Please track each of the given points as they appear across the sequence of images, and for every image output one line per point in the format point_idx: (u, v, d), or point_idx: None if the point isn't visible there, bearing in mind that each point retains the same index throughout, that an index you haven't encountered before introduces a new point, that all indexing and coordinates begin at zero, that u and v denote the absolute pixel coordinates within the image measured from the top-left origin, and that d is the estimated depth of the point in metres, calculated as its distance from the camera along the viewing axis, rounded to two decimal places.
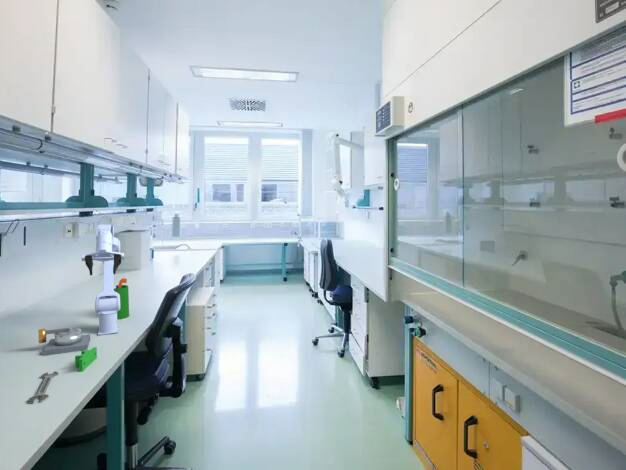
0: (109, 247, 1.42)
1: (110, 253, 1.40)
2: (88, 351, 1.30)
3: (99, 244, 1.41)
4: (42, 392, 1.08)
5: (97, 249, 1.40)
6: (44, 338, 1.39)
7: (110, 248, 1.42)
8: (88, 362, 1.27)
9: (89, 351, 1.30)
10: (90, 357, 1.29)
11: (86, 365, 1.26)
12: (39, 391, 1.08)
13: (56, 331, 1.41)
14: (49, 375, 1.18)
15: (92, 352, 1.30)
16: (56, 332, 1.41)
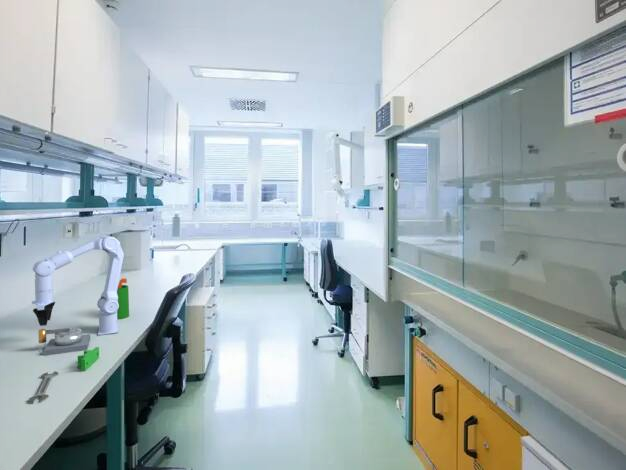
0: (37, 296, 1.41)
1: (37, 304, 1.41)
2: (91, 351, 1.30)
3: None
4: (42, 392, 1.08)
5: None
6: (44, 338, 1.39)
7: (38, 297, 1.41)
8: (90, 362, 1.27)
9: (91, 351, 1.30)
10: (92, 357, 1.29)
11: (89, 365, 1.26)
12: (39, 391, 1.08)
13: (56, 331, 1.41)
14: (49, 375, 1.18)
15: (94, 352, 1.31)
16: (56, 332, 1.41)
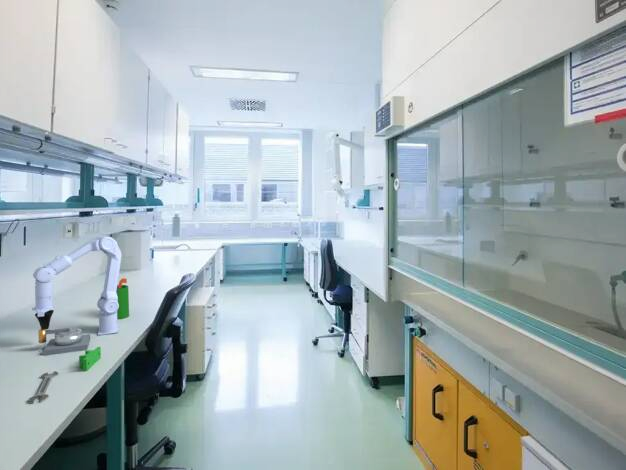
0: (37, 303, 1.41)
1: None
2: (92, 351, 1.30)
3: None
4: (42, 392, 1.08)
5: None
6: (44, 338, 1.39)
7: (38, 303, 1.41)
8: (92, 362, 1.28)
9: (93, 351, 1.30)
10: (94, 357, 1.29)
11: (90, 365, 1.26)
12: (39, 391, 1.08)
13: (56, 331, 1.41)
14: (49, 375, 1.18)
15: (96, 352, 1.31)
16: (56, 332, 1.41)
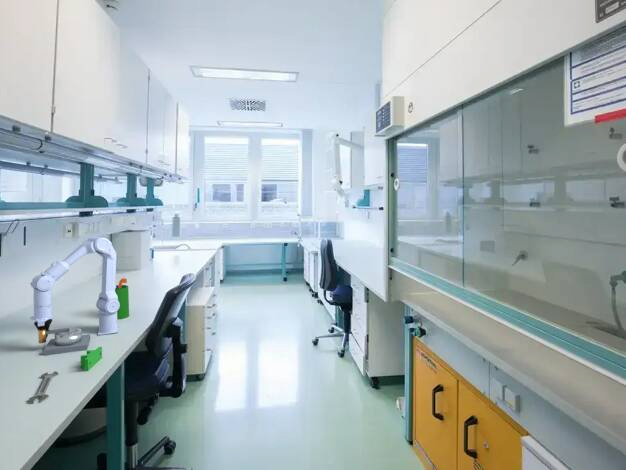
0: (36, 312, 1.38)
1: None
2: (94, 351, 1.30)
3: None
4: (42, 392, 1.08)
5: None
6: (44, 338, 1.39)
7: (37, 312, 1.38)
8: (93, 362, 1.28)
9: (94, 351, 1.30)
10: (95, 357, 1.29)
11: (92, 365, 1.26)
12: (39, 391, 1.08)
13: (56, 331, 1.41)
14: (49, 375, 1.18)
15: (97, 352, 1.31)
16: (56, 332, 1.41)
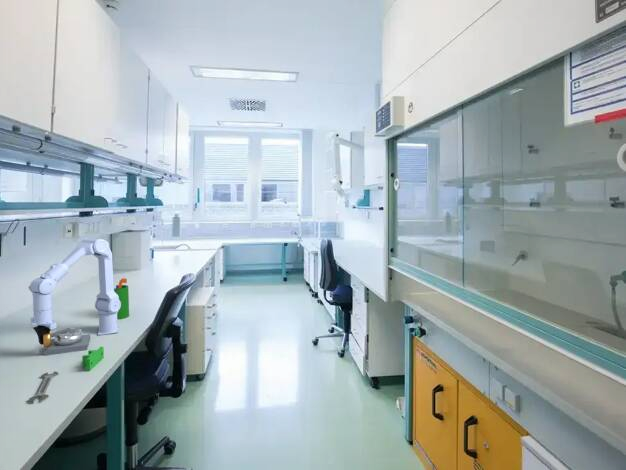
0: (39, 316, 1.33)
1: (41, 324, 1.33)
2: (95, 351, 1.30)
3: (33, 312, 1.34)
4: (42, 392, 1.08)
5: None
6: None
7: (41, 317, 1.33)
8: (95, 362, 1.28)
9: (96, 351, 1.30)
10: (97, 357, 1.29)
11: (93, 365, 1.26)
12: (39, 391, 1.08)
13: (60, 332, 1.40)
14: (49, 375, 1.18)
15: (99, 352, 1.31)
16: (60, 334, 1.40)
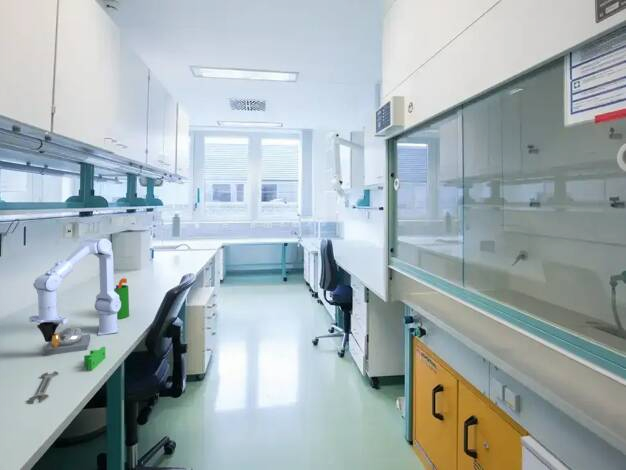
0: (48, 313, 1.32)
1: (50, 321, 1.33)
2: (97, 351, 1.30)
3: None
4: (42, 392, 1.08)
5: None
6: None
7: (50, 313, 1.33)
8: (97, 362, 1.28)
9: (98, 351, 1.30)
10: (99, 357, 1.29)
11: (95, 365, 1.26)
12: (39, 391, 1.08)
13: (64, 332, 1.40)
14: (49, 375, 1.18)
15: (101, 352, 1.31)
16: (64, 334, 1.40)
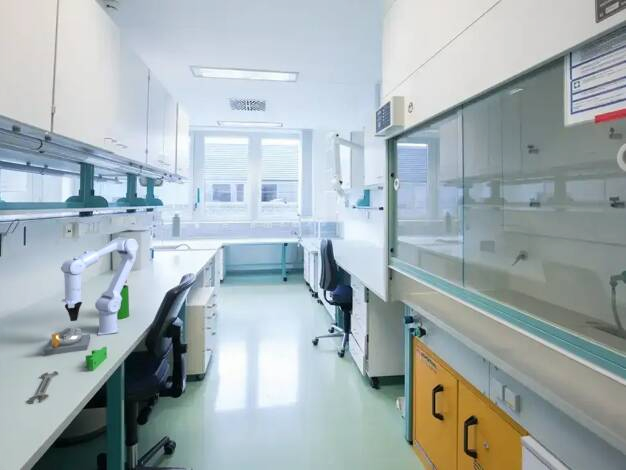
0: (66, 295, 1.44)
1: None
2: (99, 351, 1.30)
3: None
4: (42, 392, 1.08)
5: None
6: None
7: (68, 295, 1.44)
8: (98, 362, 1.28)
9: (99, 351, 1.30)
10: (100, 357, 1.29)
11: (97, 365, 1.27)
12: (39, 391, 1.08)
13: (64, 332, 1.40)
14: (49, 375, 1.18)
15: (102, 352, 1.31)
16: (64, 334, 1.40)
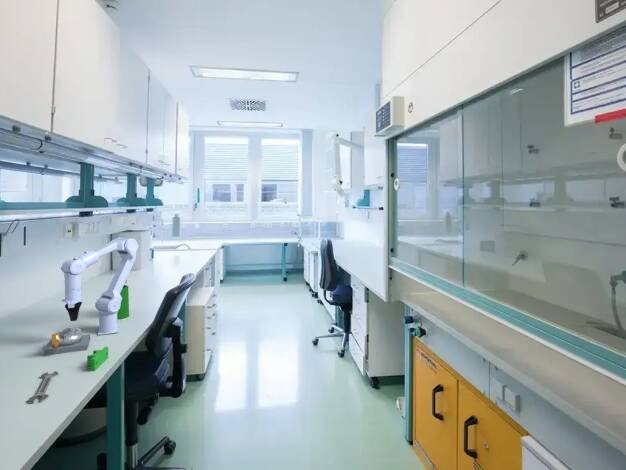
0: (66, 295, 1.44)
1: None
2: (100, 351, 1.30)
3: None
4: (42, 392, 1.08)
5: None
6: None
7: (68, 295, 1.44)
8: (100, 362, 1.28)
9: (101, 351, 1.30)
10: (102, 357, 1.30)
11: (98, 365, 1.27)
12: (39, 391, 1.08)
13: (64, 332, 1.40)
14: (49, 375, 1.18)
15: (104, 352, 1.31)
16: (64, 334, 1.40)
